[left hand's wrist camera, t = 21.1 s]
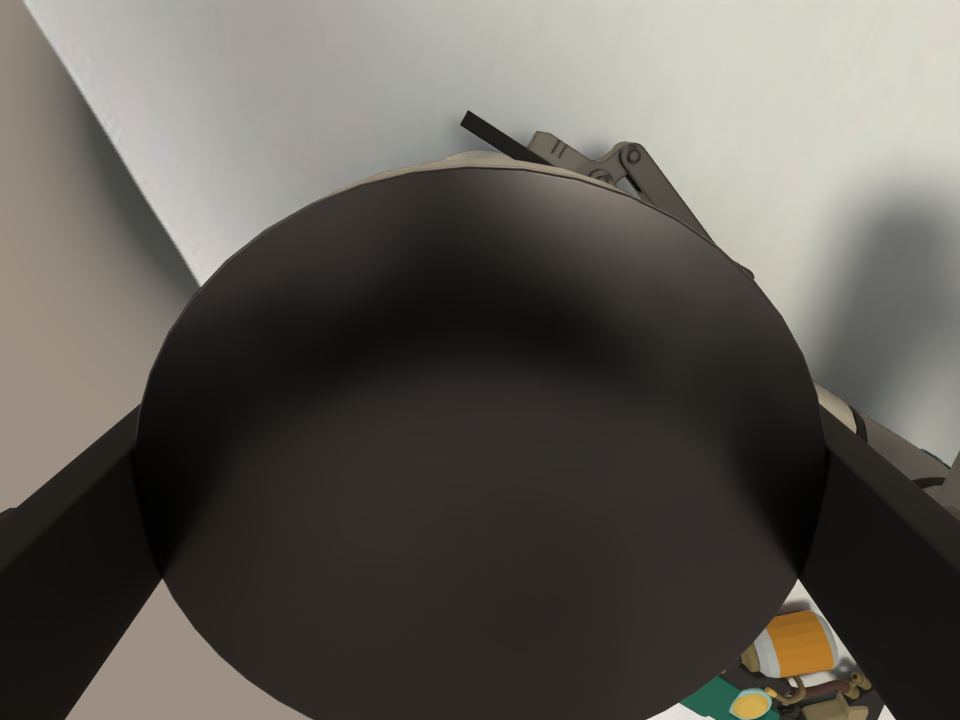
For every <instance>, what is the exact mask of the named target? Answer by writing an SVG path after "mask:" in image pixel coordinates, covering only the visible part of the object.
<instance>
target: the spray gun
mask: <svg viewBox="0 0 960 720" xmlns="http://www.w3.org/2000/svg"><path fill="white" fill-rule="evenodd" d="M837 658H838V651H837V646H836V643H835V640H834V637H833V635H832V632H831V630H830V628H829V626H828V624H827V622H826V621H825V620H824V619H823V618H822V617H821V616H819V615H818V614H816V613H815V612H813V611H811V610H806V611H801V612H796V613H791V614H786V615H781V616H776V617H774V618H773V619H772V621H771V622H770V623H769V624H768V625H767V627H766V628H765V629H764V630H763V632H762V633H761V634H760V635H759V636H758V638H757V639H756V640H755V641H754V642H753V644H752V645H751V646H750V647H749V648H748V649H747V650H745V651H744V652H743V653H742V654H741V655H740V656H739V657H738V658H737V659H736V660H735V661H734V662H733V663H732V664H731V665H730V666H729V667H728V668H727V669H726V670H724V671H723V672H722V673H720V674H719V675H718V676H716V677H715V678H714V679H713V680H711V681H710V682H709V683H707V684H706V685H705V686H703V687H702V688H701V689H699V690H698V691H697V692H695V693H694V694H692V695H690V696H689V697H687V698H685V699H684V700H682V701H680V702H679V703H680V704H682V705H684V706H685V707H687V708H689V709H690V710H692V711H694V712H695V713H697V714H699V715H701V716H704V717H707V716H710V717H712V718H714V719H715V720H878V718H879V715H880V713H881V711H882V709H883V706H884V705H885V703H884V702H883V700H882V699H881V698H880V696H879V695H878V693H877V692H876V690H875V689H874V687H873V686H872V685H871V683H870V682H869V680H868V679H867V677H866V676H865V675H862V674H861V673H858V672H853V673H852V674H851V679H852V681H850V682H847V681H838V680H836V681H829V682H826V683H823V684H820V685H816V686H812V687H804V684H803V682H802V680H801V679H800V677H799V676H798V675H800V674H807V673H813V672H820V671H826V670H832V669H834V668H835V665H836V662H837ZM741 662H742V663H741ZM791 677H793V678H794V680H795V681H796V683H797V685H798V688H796V687H792V686H791V685H790V683H789V681H788V679H789V678H791ZM836 690H840V691H838V693H837V696H836V698H835V699H833V700H829V701H825V702H821V703H817V704H812V705H808V706H805V707H803V708H800V707H799V706H798V705H797V704H796V705H794V706H793V707H792V708H791V709H788V710H787V709H784V710H780V709H777V706H778V704H779V702H780V701H781V702H783V703H786V704H793V703H796V702H799V701H800V700H802V699H803V698H804V697H813V696H818V695H822V694H825V693H829V692H832V691H836ZM785 694H789V695H792V696H791V697H784V695H785Z"/></svg>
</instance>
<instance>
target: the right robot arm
mask: <svg viewBox="0 0 960 720" xmlns="http://www.w3.org/2000/svg"><path fill="white" fill-rule="evenodd" d="M460 125H461V126H462V127H464V128H465V129H467V130H469V131H470V132H472V133H473V134H475V135H476V136H478V137H479V138H481V139H483V140H484V141H486V142H487V143H489V144H490V145H492V146H493V147H495V148H497V149H498V150H500V151H501V152H503V153H504V154H506V155H507V156H509V157H511V158H512V159H514V160H519V161H525V162H530V163H536V164H541V165H547V166H553V167H558V168H563V169H566V170H569V171H572V172H575V173H578V174H581V175H584V176H587V177H590V178H594V179H597V180H600V181H603V182H606V183H608V184H610V185H612V186H614V187H616V188H617V186H616V184H615V183H617V182H618V181H619V180H621V179H622V178H623V177H625V178H626V179H627V181H628V182H629V183H630V184H631V186H632V187H633V188H634V190H635V191H636V192H637V194H638V195H639V196H640V198H641V199H642V200H643V201H644V202H646V203H648V204H650V205H652V206H654V207H656V208H658V209H660V210H662V211H664V212H666V213H668V214H670V215H672V216H674V217H676V218H678V219H679V220H681V221H682V222H683V223H685V224H686V225H688V226H689V227H691V228H692V229H694V230H695V231H696V232H698V233H699V234H701V235H702V236H704V237H705V238H707V239H708V240H710V241H711V242H712V243H714V241H713V240H712V239H711V237H710V236H709V235H708V233H707V232H706V231H705V229H704V228H703V227H702V225H701V224H700V223H699V221H698V220H697V218H696V217H695V216H694V214H693V213H692V212H691V210H690V209H689V208H688V206H687V205H686V204H685V202H684V201H683V200H682V198H681V197H680V196H679V194H678V193H677V192H676V190H675V189H674V187H673V186H672V185H671V183H670V182H669V181H668V179H667V178H666V177H665V175H664V174H663V173H662V171H661V170H660V169H659V167H658V166H657V165H656V163H655V162H654V160H653V159H652V158H651V156H650V155H649V154H648V152H647V151H646V150H645V148H644V147H643V146H642V145H640V144H637V143H632V142H619V143H618V144H616V145H615V146H614V147H613V149H612V150H611V151H610V152H608V153H607V154H606V155H605V156H603V157H602V158H600V159H598V160H590V159H588V158H587V157H585V156H584V155H582V154H581V153H579V152H578V151H576V150H575V149H573V148H572V147H570V146H568V145H567V144H565V143H564V142H562V141H561V140H559V139H558V138H556V137H555V136H553V135H552V134H550V133H546V132H540V131H536V133H535V134H534V136H533V138H532V139H531V141H530V143H529V144H528V146H527V148H526V147H524V146H522V145H521V144H519V143H518V142H516V141H515V140H513V139H512V138H510V137H509V136H507V135H506V134H504V133H502V132H501V131H499V130H498V129H496V128H495V127H493V126H492V125H490V124H489V123H487V122H486V121H484V120H482V119H481V118H479V117H478V116H476V115H475V114H473V113H472V112H470V111H469V110H468V111H467V113H466V115H465V117H464V119H463V120H462V122H461V124H460ZM714 244H715V243H714ZM715 245H716V244H715ZM734 262H735V261H734ZM735 263H736V264H737V265H739V266H740V267H741V268H742V269H743V270H744V271H745V272H746V273H747V274H748V275H749V276H750V277H751V278H752V279H753V280H754V275H753V273H752V272H751V271H750V270H748V269H747V268H745V267H743V266H742V265H740V264H738V263H737V262H735ZM813 383H814V382H813ZM814 386H815V388H816V391H817V394H818V399H819V403H820V404H821V405H822V406H823V407H825V408H826V409H827V410H828V411H829V412H830V413H832V414H833V415H834V416H835V417H836V418H838V419H839V420H840V421H841V422H842V423H844V424H845V425H846V426H847V427H848V428H850V429H851V430H852V431H853V432H854V433H855V434H857V435H858V436H859V437H860V438H861V439H863V440H864V441H865V442H866V443H867V444H869V445H870V446H871V447H872V448H873V449H875V450H876V451H877V452H878V453H879V454H880V455H882V456H883V457H884V458H885V459H886V460H888V461H889V462H890V463H891V464H892V465H894V466H895V467H896V468H897V469H898V470H900V471H901V472H902V473H903V474H904V475H905V476H907V477H908V478H909V479H910V480H911V481H913V482H914V483H915V484H916V485H917V486H919V487H920V488H921V489H922V490H923V491H925V492H926V493H927V494H928V495H929V496H930V497H932V498H933V499H934V500H935V501H936V502H938V503H939V504H940V505H941V506H952V507H954V508H956V509H958V510H960V451H959V453H958V455H957V457H956V459H955V461H954V463H953V465H952V467H949V466H948V465H946V464H945V463H943V461H942V460H941V459H940V458H938V457H937V456H935V455H933V454H931V453H929V452H928V451H926V450H924V449H919V448H917V447H916V446H914V445H913V444H911V443H909V442H908V441H906V440H905V439H903V438H901V437H900V436H898V435H896V434H895V433H893V432H891V431H890V430H888V429H886V428H885V427H883V426H881V425H879V424H878V423H876V422H874V421H873V420H871V419H869V418H868V417H866V416H864V415H863V414H861V413H859V412H858V411H856V410H855V409H854V408H852V407H851V406H850V405H848V404H847V403H846V402H844V401H842V400H841V399H839V398H838V397H836V396H835V395H833V394H831V393H830V392H828V391H827V390H825V389H824V388H822V387H820V386H819V385H817V384H816V383H814Z"/></svg>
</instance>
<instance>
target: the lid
mask: <svg viewBox="0 0 960 720" xmlns="http://www.w3.org/2000/svg"><path fill="white" fill-rule="evenodd" d="M134 467H135V490H136V496H137V500H138V505H139V509H140V513H141V518H142V522H143V526H144V531H145V534H146V538H147V541H148V545H149V548H150V550H151V553H152V556H153V559H154V562H155V564H156V566H157V568H158V570H159V572H160V574H161V576H162V578H163V580H164V582H165V584H166V585H167V587H168V589H169V591H170V593H171V595H172V597H173V599H174V600H175V601H176V603H177V604H178V606H179V607H180V609H181V610H182V611H183V613H184V614H185V616H186V617H187V618H188V620H189V621H190V623H191V624H192V626H193V627H194V628H195V629H196V631H197V632H198V633H199V634H200V635H201V636H202V637H203V638H204V639H205V640H206V642H207V643H208V644H209V645H210V646H211V647H212V648H213V649H214V650H215V651H216V652H217V654H218V655H219V656H220V657H222V658H223V659H224V660H225V661H226V662H227V663H229V664H230V665H231V666H232V667H233V668H234V669H235V670H237V671H238V672H239V673H240V674H241V675H242V676H244V677H245V678H246V679H247V680H248V681H250V682H251V683H253V684H254V685H256V686H257V687H258V688H260V689H261V690H263V691H264V692H266V693H267V694H269V695H270V696H272V697H273V698H274V699H276V700H277V701H279V702H281V703H283V704H285V705H286V706H288V707H290V708H292V709H294V710H296V711H298V712H299V713H301V714H303V715H305V716H307V717H309V718H311V719H313V720H647V719H649V718H651V717H653V716H655V715H657V714H659V713H661V712H664V711H666V710H667V709H669V708H670V707H672V706H674V705H675V704H677V703H679V702H680V701H682V700H684V699H685V698H687V697H689V696H690V695H692V694H694V693H695V692H697V691H698V690H699V689H701V688H702V687H703V686H705V685H706V684H707V683H709V682H710V681H711V680H713V679H714V678H715V677H716V676H718V675H719V674H720V673H722V672H723V671H724V670H726V669H727V668H728V667H729V666H730V665H731V664H732V663H733V662H734V661H735V660H736V659H737V658H738V657H739V656H740V655H741V654H742V653H743V652H744V651H745V650H747V649H748V648H749V647H750V646H751V645H752V644H753V642H754V641H755V640H756V639H757V638H758V636H759V635H760V634H761V633H762V632H763V630H764V629H765V628H766V627H767V625H768V624H769V623H770V622H771V621H772V619H773V618H774V617H775V616H776V614H777V612H778V611H779V609H780V608H781V606H782V605H783V603H784V601H785V600H786V598H787V597H788V595H789V593H790V592H791V590H792V589H793V587H794V585H795V584H796V581H797V579H798V577H799V575H800V573H801V570H802V568H803V566H804V564H805V561H806V559H807V557H808V555H809V553H810V550H811V547H812V543H813V539H814V535H815V531H816V527H817V523H818V520H819V516H820V511H821V507H822V502H823V496H824V489H825V481H826V442H825V431H824V426H823V421H822V415H821V410H820V404H819V399H818V394H817V391H816V388H815V386H814V383H813V380H812V377H811V375H810V372H809V369H808V366H807V363H806V361H805V358H804V355H803V353H802V351H801V350H800V348H799V346H798V344H797V342H796V340H795V339H794V337H793V335H792V333H791V331H790V330H789V328H788V326H787V324H786V322H785V321H784V319H783V317H782V315H781V314H780V313H779V312H778V310H777V309H776V308H775V306H774V305H773V304H772V303H771V301H770V300H769V299H768V297H767V296H766V295H765V294H764V292H763V291H762V290H761V289H760V287H759V286H758V285H757V283H756V282H755V281H754V280H753V279H752V278H751V277H750V276H749V275H748V274H747V273H746V272H745V271H744V270H743V269H742V268H741V267H740V266H739V265H737V264H736V263H735V262H734V261H733V260H732V259H731V258H730V257H729V256H728V255H727V254H726V253H725V252H724V251H723V250H721V249H720V248H719V247H718V246H717V245H715V244H714V243H712V242H711V241H710V240H708V239H707V238H705V237H704V236H702V235H701V234H699V233H698V232H696V231H695V230H694V229H692V228H691V227H689V226H688V225H686V224H685V223H683V222H682V221H681V220H679V219H678V218H676V217H674V216H672V215H670V214H668V213H666V212H664V211H662V210H660V209H658V208H656V207H654V206H652V205H650V204H648V203H646V202H644V201H642V200H640V199H638V198H636V197H634V196H632V195H630V194H628V193H626V192H624V191H622V190H620V189H618V188H616V187H614V186H612V185H610V184H608V183H606V182H603V181H600V180H597V179H594V178H590V177H587V176H584V175H581V174H578V173H575V172H572V171H569V170H566V169H563V168H558V167H553V166H547V165H541V164H536V163H530V162H525V161H519V160H502V159H476V158H468V159H458V160H448V161H437V162H427V163H421V164H417V165H413V166H409V167H405V168H400V169H396V170H392V171H388V172H384V173H380V174H377V175H375V176H372V177H369V178H367V179H364V180H362V181H359V182H357V183H354V184H352V185H349V186H347V187H344V188H342V189H339V190H337V191H335V192H333V193H331V194H329V195H327V196H325V197H323V198H321V199H319V200H317V201H315V202H313V203H311V204H309V205H307V206H306V207H304V208H302V209H300V210H299V211H297V212H295V213H293V214H292V215H290V216H288V217H286V218H285V219H283V220H281V221H279V222H278V223H276V224H274V225H272V226H271V227H269V228H267V229H265V230H264V231H263V232H261V233H260V234H259V235H258V236H256V237H255V238H254V239H253V240H251V241H250V242H249V243H248V244H246V245H245V246H244V247H242V248H241V249H240V250H239V251H237V252H236V253H235V254H234V255H232V256H231V257H230V258H229V259H227V260H226V261H225V262H224V263H223V264H222V265H221V266H220V267H219V269H218V270H217V271H216V272H215V273H214V274H213V275H212V276H211V277H210V278H209V279H208V280H207V281H206V282H205V284H204V285H203V286H202V287H201V288H200V289H199V290H198V291H197V292H196V293H195V294H194V295H193V297H192V298H191V300H190V301H189V303H188V304H187V306H186V307H185V309H184V310H183V312H182V313H181V315H180V316H179V318H178V319H177V321H176V322H175V324H174V325H173V326H172V328H171V329H170V331H169V332H168V334H167V336H166V339H165V341H164V343H163V345H162V347H161V349H160V352H159V354H158V356H157V358H156V360H155V362H154V364H153V367H152V369H151V371H150V374H149V377H148V381H147V384H146V388H145V391H144V395H143V399H142V402H141V406H140V409H139V413H138V422H137V430H136V439H135V448H134Z"/></svg>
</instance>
